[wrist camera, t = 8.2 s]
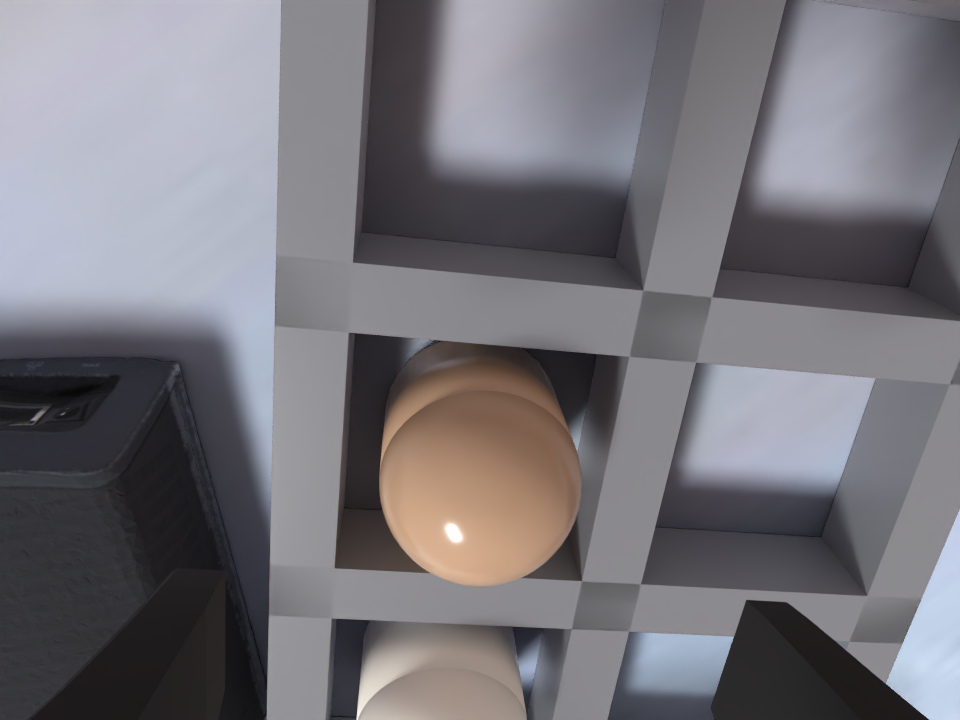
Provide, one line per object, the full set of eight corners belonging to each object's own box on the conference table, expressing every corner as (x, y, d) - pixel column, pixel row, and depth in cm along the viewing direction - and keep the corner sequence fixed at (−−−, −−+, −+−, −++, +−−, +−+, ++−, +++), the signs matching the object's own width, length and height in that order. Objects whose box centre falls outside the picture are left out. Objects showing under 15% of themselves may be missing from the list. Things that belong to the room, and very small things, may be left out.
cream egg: (359, 696, 23) (342, 876, 18) (368, 578, 22) (353, 741, 17) (503, 701, 24) (525, 877, 19) (523, 586, 22) (553, 746, 17)
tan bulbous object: (378, 482, 20) (365, 626, 15) (392, 326, 19) (382, 433, 14) (542, 493, 21) (580, 637, 16) (569, 343, 19) (621, 452, 14)
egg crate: (785, 763, 26) (820, 836, 23) (279, 751, 24) (264, 828, 22) (1089, -40, 17) (1197, -51, 14) (306, -163, 15) (285, -199, 12)
